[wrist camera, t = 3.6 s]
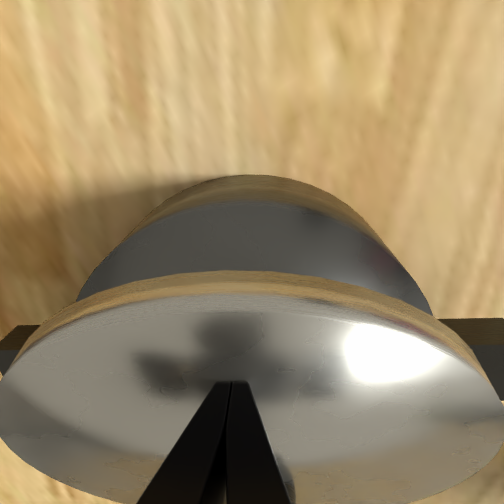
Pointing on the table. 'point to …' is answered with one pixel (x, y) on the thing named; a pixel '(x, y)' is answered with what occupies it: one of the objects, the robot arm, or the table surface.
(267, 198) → the pot
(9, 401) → the lid
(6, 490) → the table surface
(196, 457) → the robot arm
